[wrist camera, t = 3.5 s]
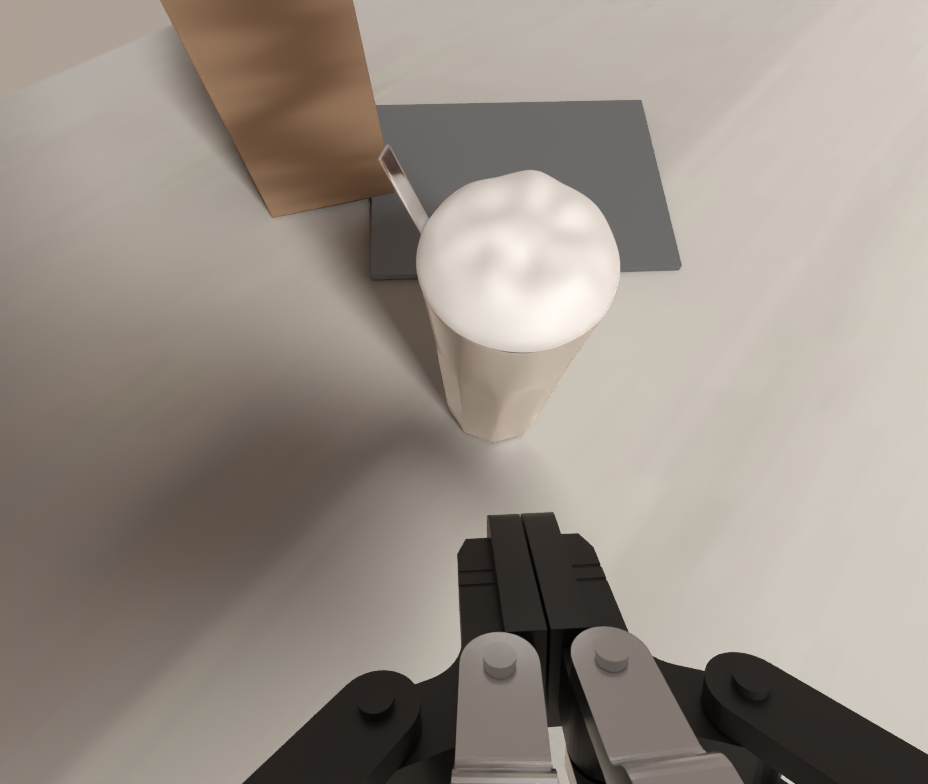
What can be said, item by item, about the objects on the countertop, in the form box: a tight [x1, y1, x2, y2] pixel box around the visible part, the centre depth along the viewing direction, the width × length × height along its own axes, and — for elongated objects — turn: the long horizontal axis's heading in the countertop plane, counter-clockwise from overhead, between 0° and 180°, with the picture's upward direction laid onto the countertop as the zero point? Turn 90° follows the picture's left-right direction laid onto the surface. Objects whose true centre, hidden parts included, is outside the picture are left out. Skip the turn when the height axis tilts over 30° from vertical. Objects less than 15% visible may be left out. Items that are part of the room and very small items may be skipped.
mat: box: [370, 100, 682, 280], centre depth 24 cm, size 12×9×1 cm
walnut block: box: [160, 0, 395, 217], centre depth 20 cm, size 5×5×9 cm
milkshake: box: [379, 144, 620, 443], centre depth 16 cm, size 4×5×10 cm
